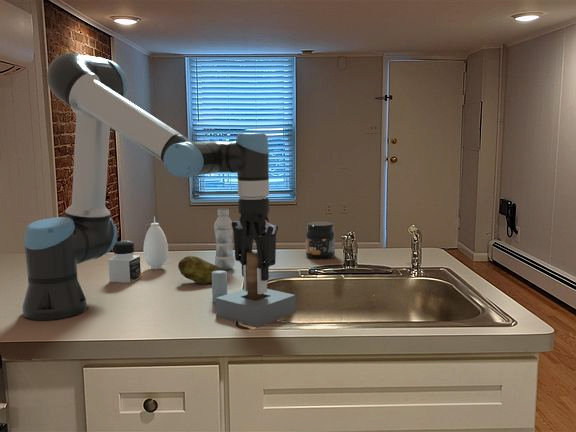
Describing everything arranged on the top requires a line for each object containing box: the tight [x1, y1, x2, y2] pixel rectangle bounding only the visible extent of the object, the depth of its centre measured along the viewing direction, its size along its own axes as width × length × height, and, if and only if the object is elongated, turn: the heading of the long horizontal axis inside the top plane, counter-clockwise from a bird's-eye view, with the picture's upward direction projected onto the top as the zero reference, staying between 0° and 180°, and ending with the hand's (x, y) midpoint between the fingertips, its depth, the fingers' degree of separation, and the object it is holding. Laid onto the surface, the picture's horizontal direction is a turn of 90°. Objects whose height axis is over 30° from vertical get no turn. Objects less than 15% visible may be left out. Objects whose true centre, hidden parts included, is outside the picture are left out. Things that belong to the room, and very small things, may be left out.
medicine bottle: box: [107, 240, 142, 284], centre depth 179 cm, size 7×7×12 cm
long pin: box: [247, 250, 264, 301], centre depth 144 cm, size 4×4×14 cm
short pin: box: [211, 270, 228, 304], centre depth 156 cm, size 4×4×8 cm
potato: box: [177, 255, 224, 285], centre depth 175 cm, size 8×13×8 cm, turn 73°
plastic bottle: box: [213, 208, 236, 271], centre depth 190 cm, size 6×7×20 cm
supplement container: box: [305, 221, 336, 260], centre depth 209 cm, size 10×10×12 cm
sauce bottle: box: [142, 215, 169, 271], centre depth 193 cm, size 8×8×18 cm
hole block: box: [215, 288, 297, 328], centre depth 145 cm, size 14×14×4 cm
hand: (255, 291), depth 144 cm, fingers closed on long pin, 4 cm apart
